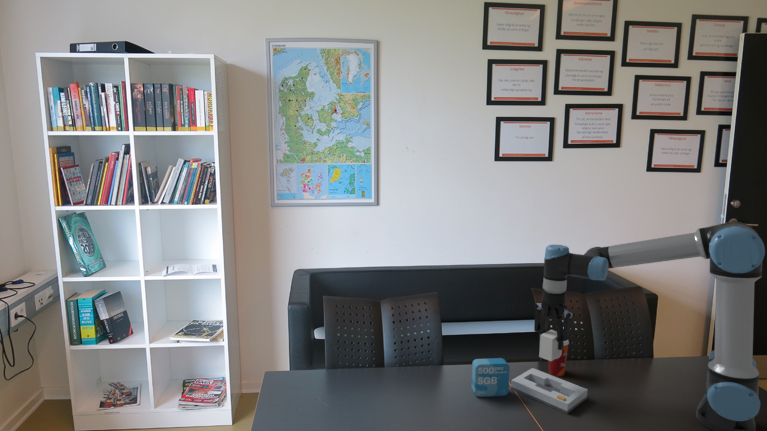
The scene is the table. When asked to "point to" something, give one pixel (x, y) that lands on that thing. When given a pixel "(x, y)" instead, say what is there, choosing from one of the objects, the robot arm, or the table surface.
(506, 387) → the data package
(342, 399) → the table surface
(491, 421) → the table surface
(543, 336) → the plug
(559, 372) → the paper cup
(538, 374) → the socket
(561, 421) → the table surface
